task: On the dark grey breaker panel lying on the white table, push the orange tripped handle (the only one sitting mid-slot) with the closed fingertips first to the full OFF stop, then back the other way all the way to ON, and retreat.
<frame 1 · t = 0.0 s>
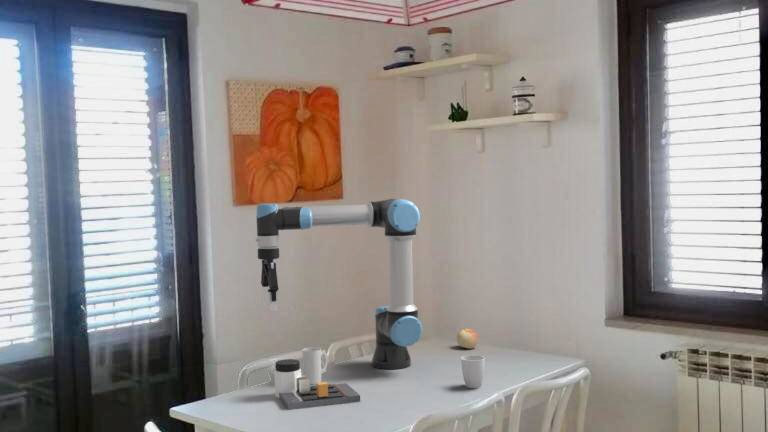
hand: (270, 307, 287), 28 cm above the table, fingers open, 13 cm apart
jar: (288, 397, 276), on the table, touching panel
apple: (467, 348, 344), on the table
panel: (318, 398, 271), on the table
cup: (473, 387, 282), on the table
mug: (316, 382, 294), on the table
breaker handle: (322, 389, 265), point 5 cm above the table, slide at 0.0 cm
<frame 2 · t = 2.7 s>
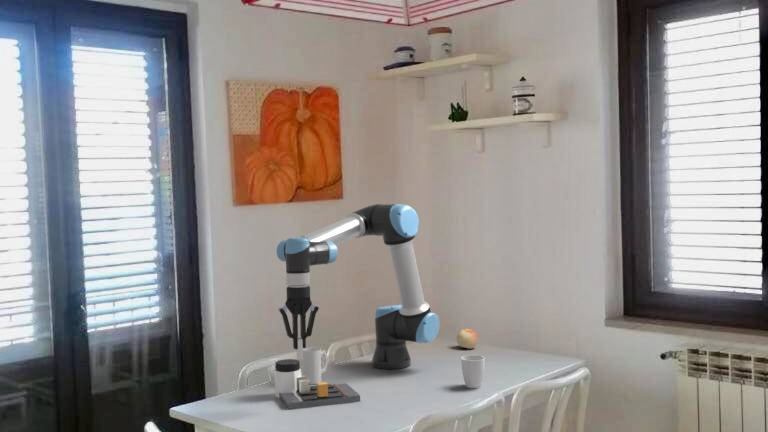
hand: (299, 358, 262), 15 cm above the table, fingers closed
nothing on the table moved.
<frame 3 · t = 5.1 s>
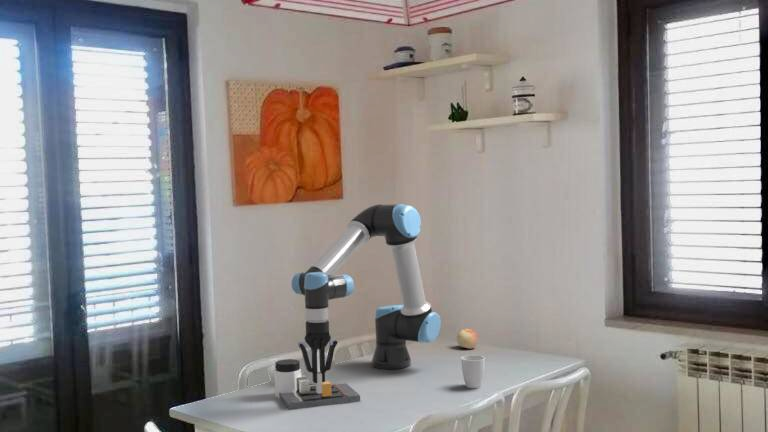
hand: (319, 392, 265), 4 cm above the table, fingers closed
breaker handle: (325, 389, 265), point 5 cm above the table, slide at -1.2 cm, touching gripper
everything else where it was.
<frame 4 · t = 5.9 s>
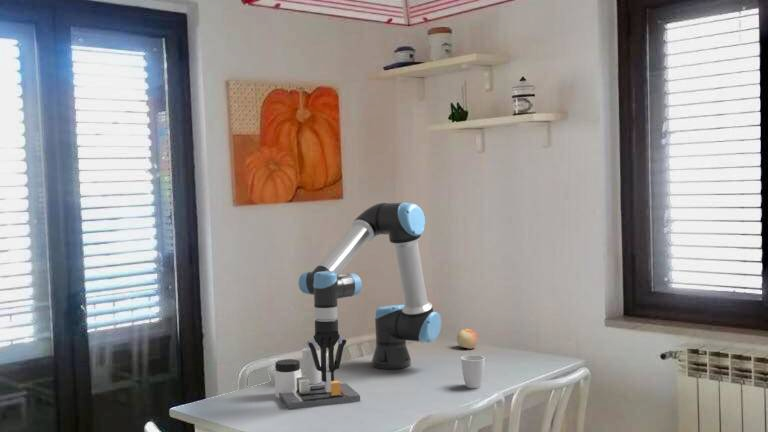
hand: (328, 391, 265), 4 cm above the table, fingers closed
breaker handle: (334, 388, 266), point 5 cm above the table, slide at -4.1 cm, touching gripper
everything else where it was.
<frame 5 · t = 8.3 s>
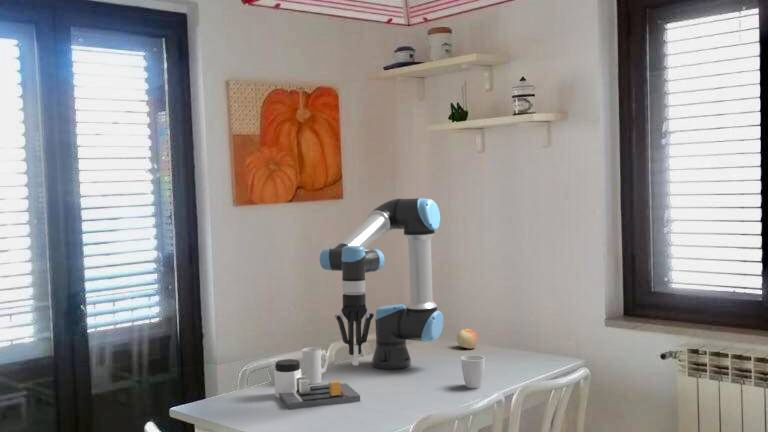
hand: (355, 364, 268), 12 cm above the table, fingers closed
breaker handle: (334, 388, 266), point 5 cm above the table, slide at -4.2 cm
everything else where it was.
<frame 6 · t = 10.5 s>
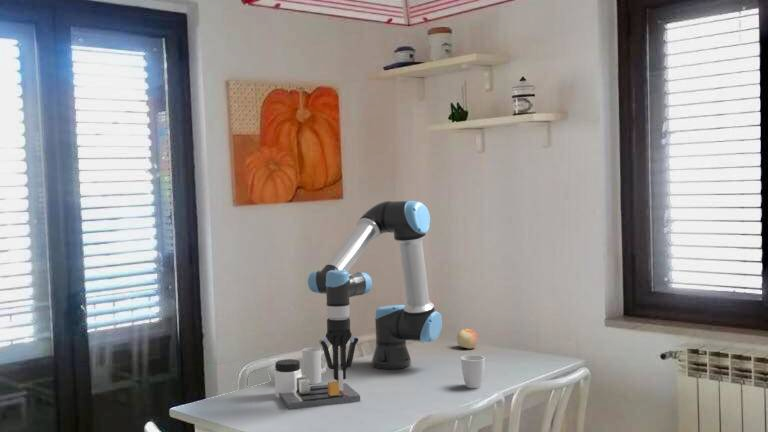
hand: (340, 389, 267), 4 cm above the table, fingers closed
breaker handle: (333, 388, 266), point 5 cm above the table, slide at -3.7 cm, touching gripper
everything else where it was.
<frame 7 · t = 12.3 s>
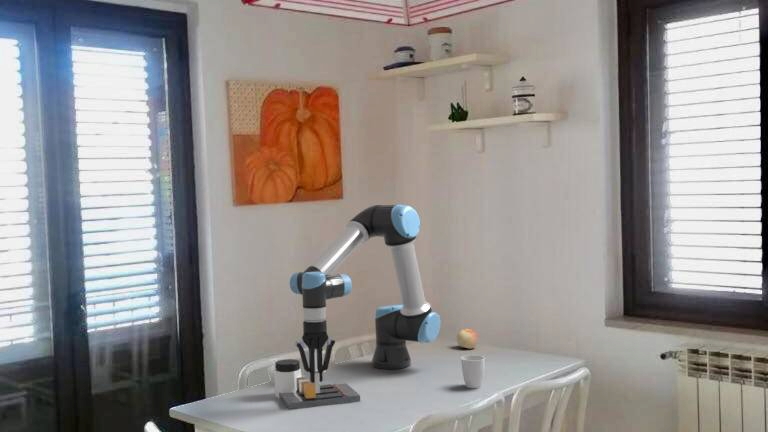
hand: (316, 392, 264), 4 cm above the table, fingers closed
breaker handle: (309, 390, 264), point 5 cm above the table, slide at 4.2 cm, touching gripper
everything else where it was.
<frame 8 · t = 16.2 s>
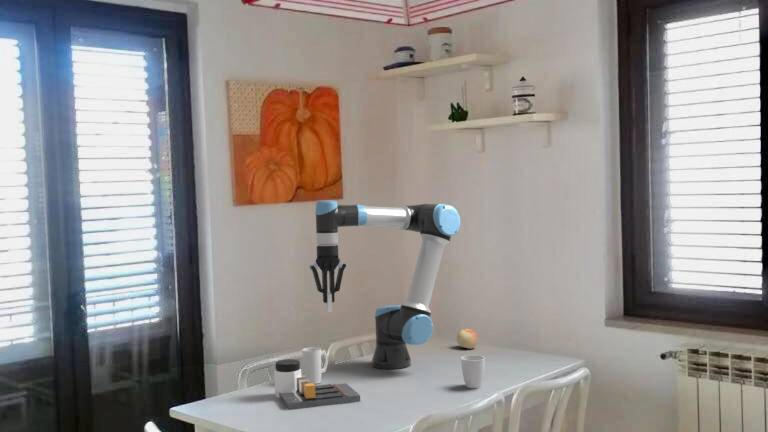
hand: (329, 311, 285), 26 cm above the table, fingers closed
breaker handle: (309, 390, 263), point 5 cm above the table, slide at 4.2 cm
everything else where it was.
at the end: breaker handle slide at 4.2 cm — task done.
